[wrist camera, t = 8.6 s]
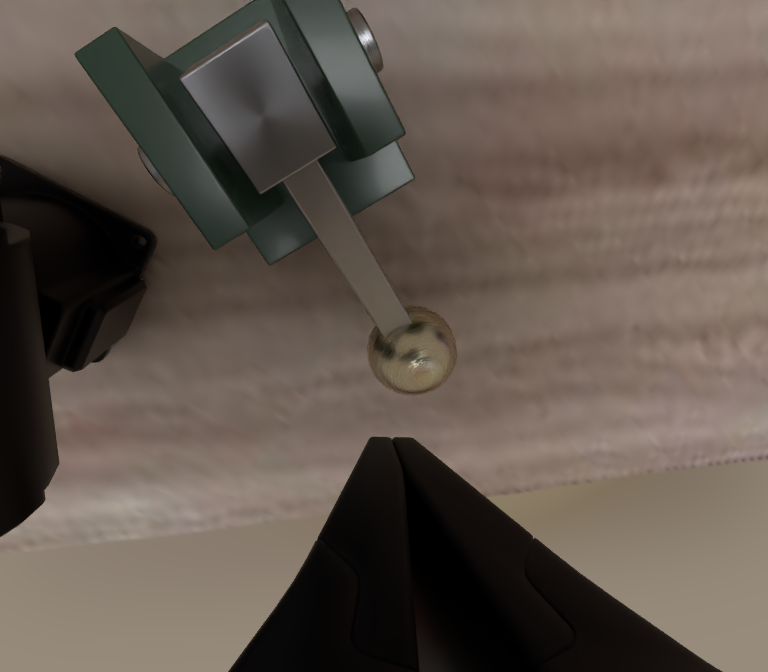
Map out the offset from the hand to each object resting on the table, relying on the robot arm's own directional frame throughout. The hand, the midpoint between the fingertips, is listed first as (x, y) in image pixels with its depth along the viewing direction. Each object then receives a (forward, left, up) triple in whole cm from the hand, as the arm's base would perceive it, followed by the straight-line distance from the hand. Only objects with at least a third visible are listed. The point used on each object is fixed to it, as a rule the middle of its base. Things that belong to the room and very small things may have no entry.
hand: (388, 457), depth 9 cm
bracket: (-6, +4, -13) cm, 15 cm away
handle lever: (-2, +2, -8) cm, 9 cm away
